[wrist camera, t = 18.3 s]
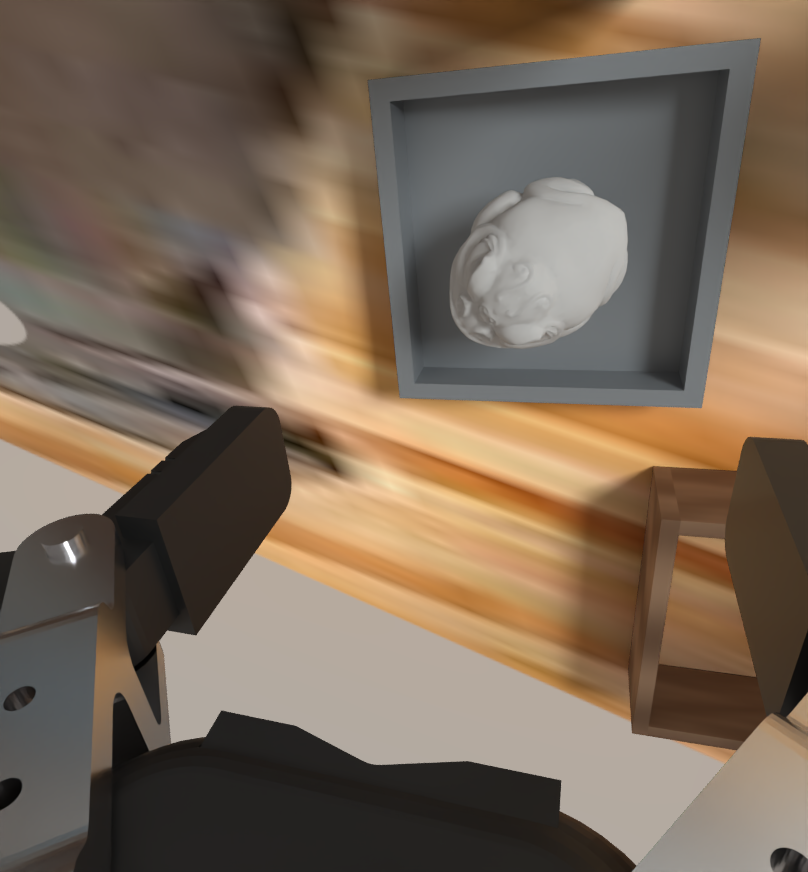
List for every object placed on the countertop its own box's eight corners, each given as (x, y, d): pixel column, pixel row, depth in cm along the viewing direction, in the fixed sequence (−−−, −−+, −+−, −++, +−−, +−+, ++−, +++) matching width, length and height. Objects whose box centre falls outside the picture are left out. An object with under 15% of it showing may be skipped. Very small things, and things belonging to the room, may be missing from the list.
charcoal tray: (386, 79, 26) (367, 79, 24) (744, 41, 23) (760, 38, 20) (412, 376, 33) (399, 398, 31) (693, 383, 29) (701, 408, 27)
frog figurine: (441, 231, 28) (402, 274, 22) (580, 127, 25) (577, 145, 19) (515, 339, 30) (497, 404, 24) (656, 255, 26) (674, 307, 21)
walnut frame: (653, 466, 32) (661, 519, 28) (1011, 486, 28) (1077, 551, 24) (628, 669, 39) (632, 733, 35) (909, 708, 35) (947, 784, 31)
